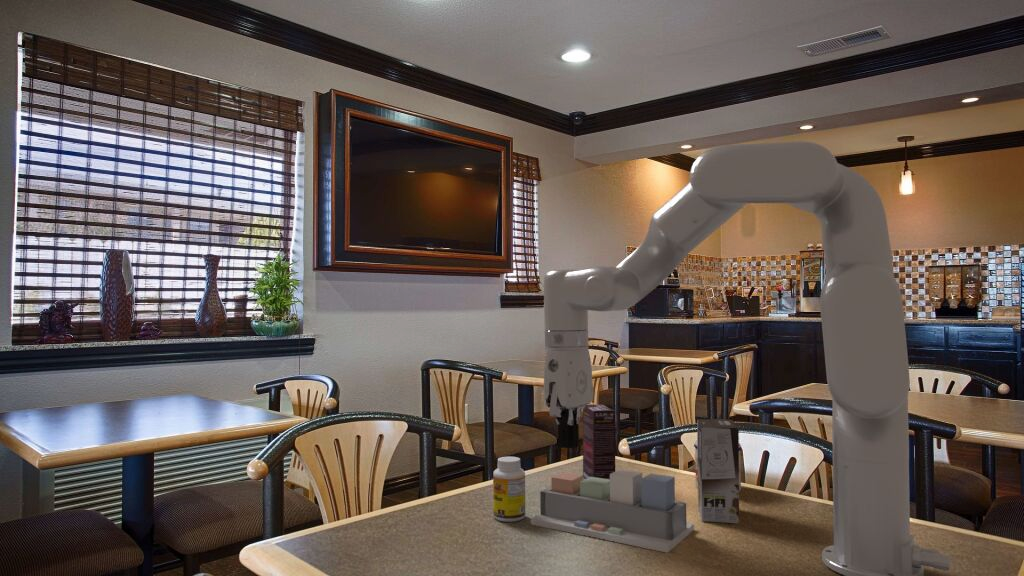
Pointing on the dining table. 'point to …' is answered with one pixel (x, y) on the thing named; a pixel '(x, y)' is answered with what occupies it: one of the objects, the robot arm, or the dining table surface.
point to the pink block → (566, 483)
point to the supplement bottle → (509, 490)
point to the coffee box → (718, 470)
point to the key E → (595, 488)
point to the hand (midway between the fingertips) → (568, 446)
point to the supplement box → (598, 441)
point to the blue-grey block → (658, 492)
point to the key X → (626, 487)
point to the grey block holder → (614, 520)
